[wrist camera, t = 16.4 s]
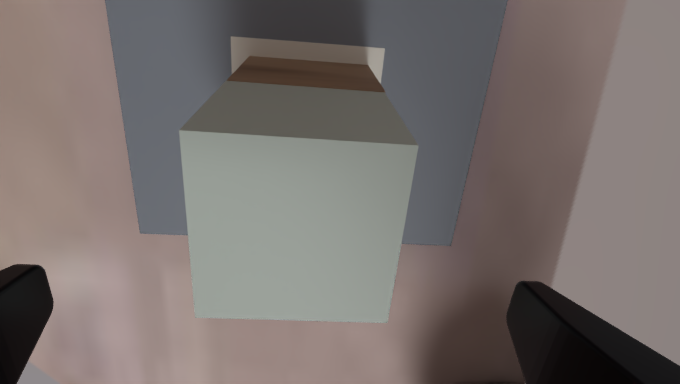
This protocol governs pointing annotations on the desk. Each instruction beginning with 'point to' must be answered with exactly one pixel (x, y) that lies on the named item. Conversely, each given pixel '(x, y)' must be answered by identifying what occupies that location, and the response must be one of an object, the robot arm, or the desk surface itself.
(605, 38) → the desk surface
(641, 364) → the robot arm
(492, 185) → the desk surface
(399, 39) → the blueprint board
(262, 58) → the walnut block
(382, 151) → the sage block
